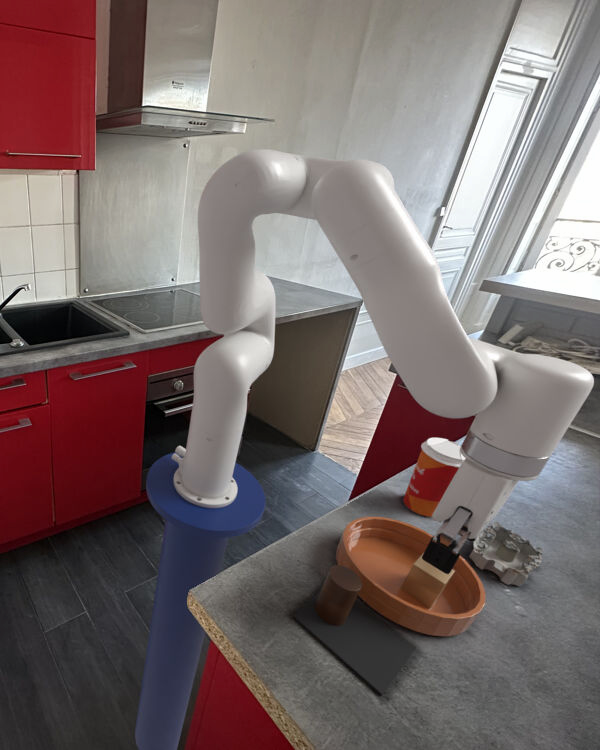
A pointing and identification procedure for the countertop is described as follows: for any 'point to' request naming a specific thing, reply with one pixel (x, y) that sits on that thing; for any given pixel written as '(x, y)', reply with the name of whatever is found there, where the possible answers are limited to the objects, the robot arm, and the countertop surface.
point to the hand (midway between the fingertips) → (448, 549)
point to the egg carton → (505, 554)
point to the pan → (390, 568)
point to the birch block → (425, 582)
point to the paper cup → (432, 475)
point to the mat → (360, 643)
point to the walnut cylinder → (338, 595)
